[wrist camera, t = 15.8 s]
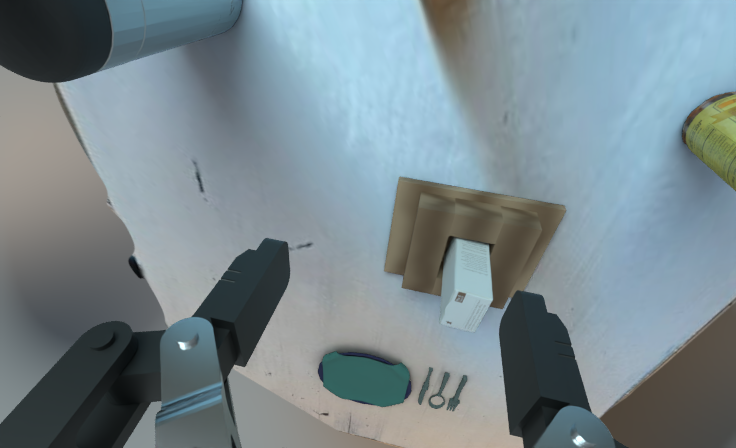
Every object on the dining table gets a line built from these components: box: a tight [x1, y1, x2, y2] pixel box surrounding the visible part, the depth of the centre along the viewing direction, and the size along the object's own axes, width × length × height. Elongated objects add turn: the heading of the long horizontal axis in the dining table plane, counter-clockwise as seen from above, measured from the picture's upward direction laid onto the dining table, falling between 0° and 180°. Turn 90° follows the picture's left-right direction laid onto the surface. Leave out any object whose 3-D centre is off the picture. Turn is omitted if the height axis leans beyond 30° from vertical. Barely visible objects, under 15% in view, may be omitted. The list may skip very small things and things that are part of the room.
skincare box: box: [439, 236, 493, 333], centre depth 42 cm, size 6×4×12 cm
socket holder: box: [384, 177, 566, 309], centre depth 46 cm, size 20×16×4 cm
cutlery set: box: [318, 351, 467, 411], centre depth 73 cm, size 20×30×2 cm, turn 86°
